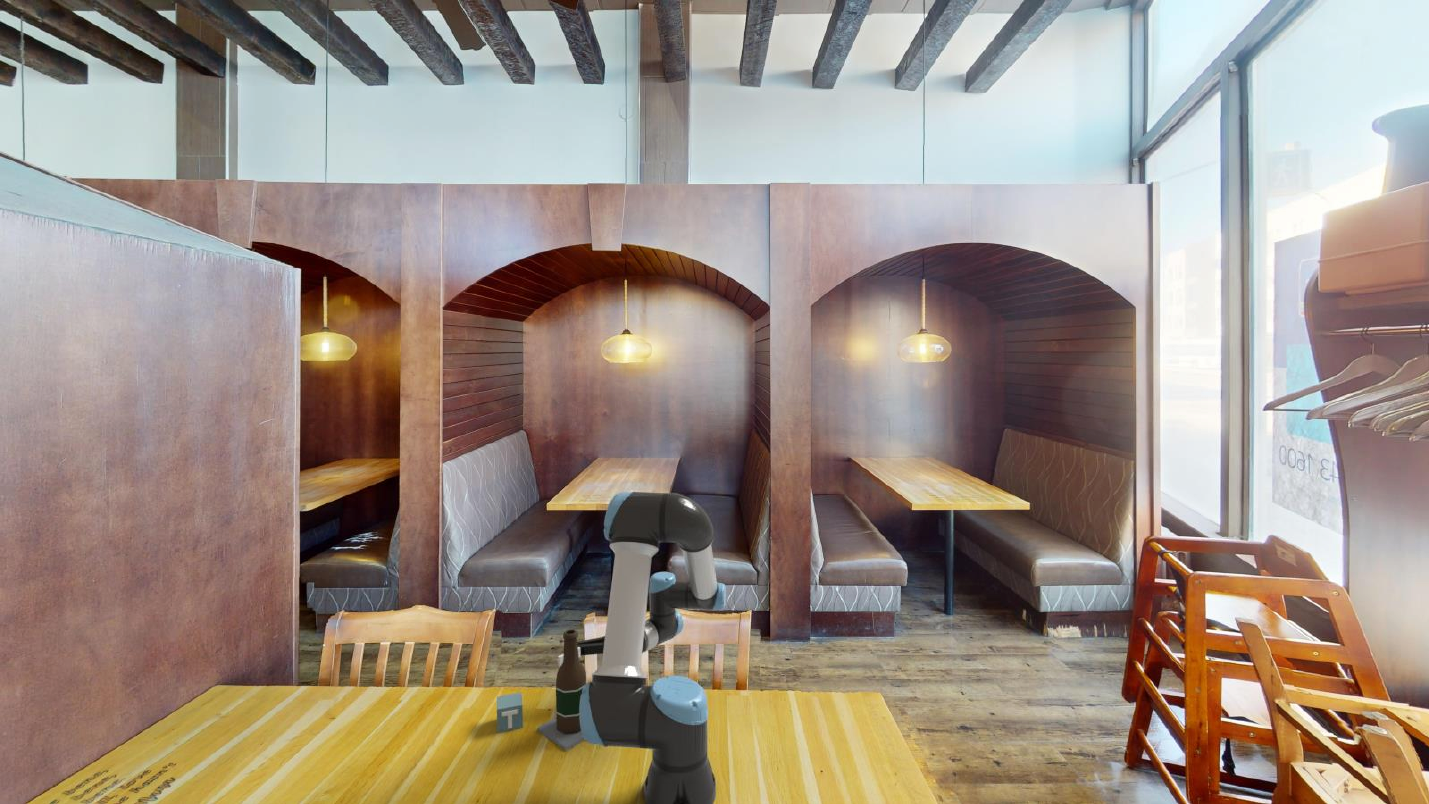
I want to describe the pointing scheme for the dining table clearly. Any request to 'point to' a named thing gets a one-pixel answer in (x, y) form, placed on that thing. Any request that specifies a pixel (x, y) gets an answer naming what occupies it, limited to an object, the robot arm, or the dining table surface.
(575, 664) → the beer bottle
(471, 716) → the dining table surface
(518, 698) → the letter block
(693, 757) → the robot arm
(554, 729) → the mat
